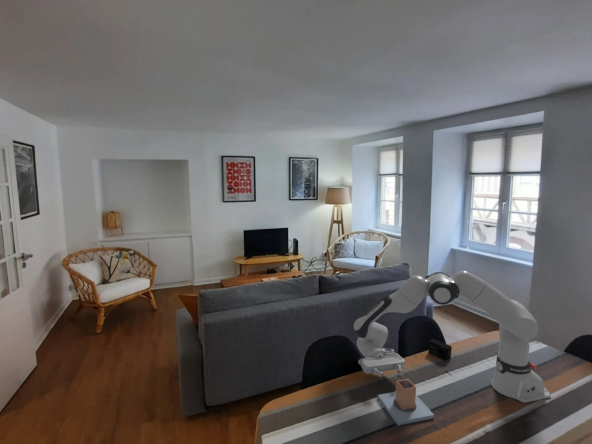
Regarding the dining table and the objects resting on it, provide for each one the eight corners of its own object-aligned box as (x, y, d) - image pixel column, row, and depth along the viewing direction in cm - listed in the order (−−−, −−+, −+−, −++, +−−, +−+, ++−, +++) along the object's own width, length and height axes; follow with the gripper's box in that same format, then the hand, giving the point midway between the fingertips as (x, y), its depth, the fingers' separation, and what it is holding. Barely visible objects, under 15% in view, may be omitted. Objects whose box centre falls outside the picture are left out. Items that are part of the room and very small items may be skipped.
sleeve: (407, 398, 139) (408, 378, 138) (414, 407, 134) (416, 387, 133) (395, 400, 138) (396, 380, 137) (402, 409, 133) (403, 389, 131)
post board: (410, 392, 146) (412, 366, 144) (433, 418, 130) (435, 389, 129) (377, 398, 142) (378, 371, 140) (397, 425, 127) (399, 396, 125)
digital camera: (426, 353, 177) (427, 341, 176) (432, 350, 181) (433, 338, 180) (445, 362, 169) (446, 349, 168) (450, 358, 173) (451, 346, 172)
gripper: (356, 353, 156) (370, 370, 142) (395, 348, 161) (412, 364, 147) (356, 366, 157) (369, 384, 143) (395, 360, 162) (411, 377, 148)
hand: (391, 374), depth 145 cm, fingers open, 8 cm apart
